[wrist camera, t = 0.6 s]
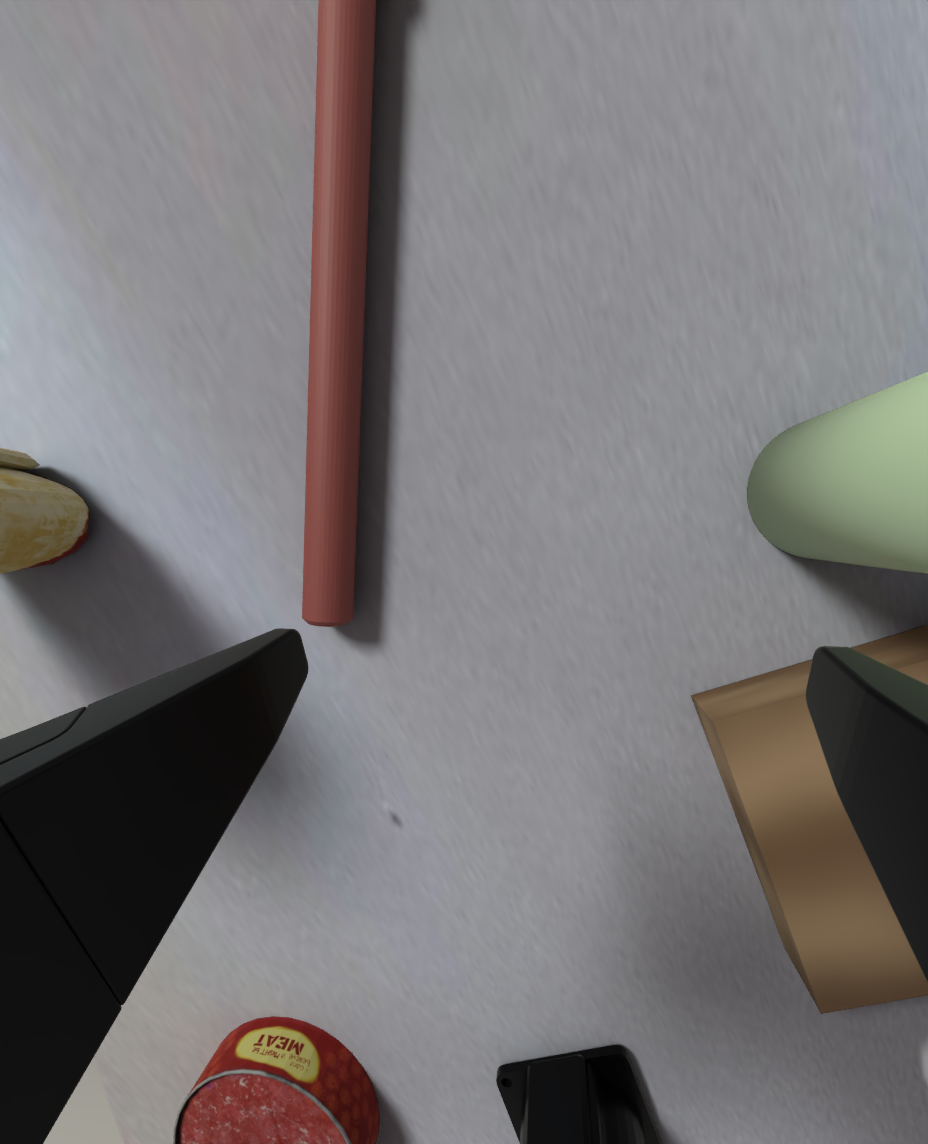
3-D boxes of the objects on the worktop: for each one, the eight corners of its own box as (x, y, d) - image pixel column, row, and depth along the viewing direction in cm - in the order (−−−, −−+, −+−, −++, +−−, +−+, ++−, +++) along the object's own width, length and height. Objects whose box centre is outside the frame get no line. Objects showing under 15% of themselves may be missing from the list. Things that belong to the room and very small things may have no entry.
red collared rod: (342, -491, 20) (306, -673, 17) (418, -511, 20) (395, -702, 17) (311, 613, 25) (277, 625, 22) (372, 619, 24) (347, 632, 21)
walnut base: (1100, 886, 20) (1195, 948, 17) (785, 949, 22) (820, 1013, 19) (1000, 602, 20) (1079, 616, 17) (691, 695, 22) (712, 721, 19)
